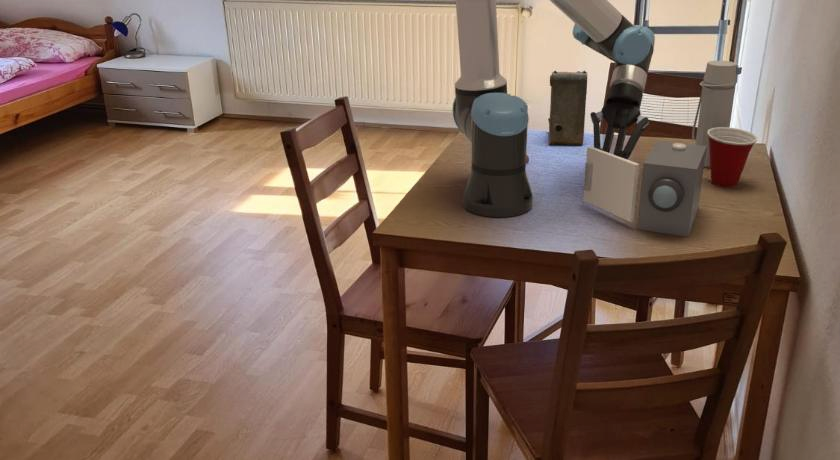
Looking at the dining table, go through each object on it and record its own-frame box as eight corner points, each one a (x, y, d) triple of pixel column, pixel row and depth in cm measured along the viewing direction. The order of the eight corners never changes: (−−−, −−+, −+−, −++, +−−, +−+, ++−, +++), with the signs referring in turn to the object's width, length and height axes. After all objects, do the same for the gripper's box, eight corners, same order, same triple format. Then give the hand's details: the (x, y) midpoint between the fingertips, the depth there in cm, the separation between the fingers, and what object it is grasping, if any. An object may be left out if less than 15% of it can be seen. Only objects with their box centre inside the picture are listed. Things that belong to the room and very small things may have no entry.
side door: (633, 220, 157) (639, 164, 152) (626, 222, 156) (631, 165, 152) (587, 199, 168) (591, 146, 164) (579, 201, 167) (583, 147, 163)
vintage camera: (579, 132, 223) (582, 62, 215) (584, 146, 208) (588, 71, 201) (545, 132, 224) (547, 62, 216) (548, 146, 209) (550, 72, 202)
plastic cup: (730, 194, 174) (738, 143, 169) (690, 181, 182) (697, 132, 177) (760, 185, 179) (768, 134, 175) (720, 172, 188) (727, 124, 183)
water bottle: (730, 165, 193) (745, 63, 183) (710, 171, 189) (724, 68, 179) (699, 155, 200) (712, 57, 190) (679, 161, 196) (691, 61, 186)
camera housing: (686, 241, 151) (695, 169, 145) (632, 233, 155) (639, 162, 149) (698, 208, 166) (707, 142, 161) (648, 202, 170) (656, 137, 165)
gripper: (656, 102, 175) (636, 196, 168) (598, 97, 180) (576, 188, 173) (655, 83, 168) (633, 180, 161) (595, 78, 173) (571, 172, 166)
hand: (604, 184), depth 167 cm, fingers closed
